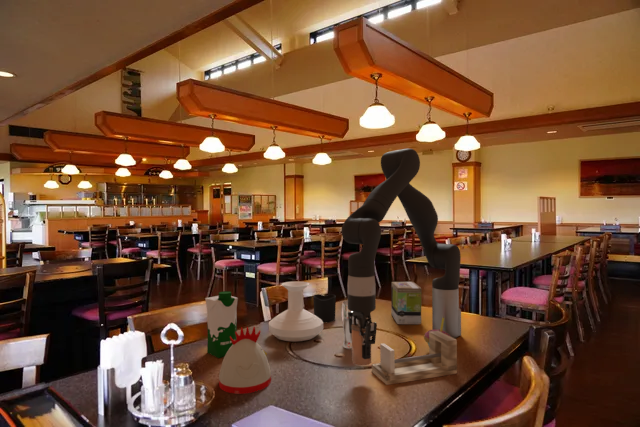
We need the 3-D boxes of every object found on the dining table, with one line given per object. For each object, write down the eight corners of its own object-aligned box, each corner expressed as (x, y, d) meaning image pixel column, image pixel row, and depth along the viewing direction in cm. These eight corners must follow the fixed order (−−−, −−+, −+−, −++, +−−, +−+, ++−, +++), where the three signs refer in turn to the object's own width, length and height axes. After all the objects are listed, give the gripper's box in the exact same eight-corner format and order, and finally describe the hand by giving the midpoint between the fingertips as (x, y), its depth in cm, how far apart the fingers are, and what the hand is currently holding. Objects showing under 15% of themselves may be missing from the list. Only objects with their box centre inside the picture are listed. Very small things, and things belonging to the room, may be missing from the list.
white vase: (290, 350, 135) (290, 291, 134) (257, 336, 150) (257, 283, 149) (334, 337, 148) (334, 284, 147) (300, 325, 163) (299, 277, 162)
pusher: (437, 360, 121) (437, 336, 121) (449, 367, 115) (449, 342, 115) (380, 368, 115) (380, 343, 115) (390, 376, 109) (390, 350, 109)
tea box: (422, 324, 162) (422, 287, 162) (396, 324, 162) (396, 287, 162) (414, 314, 177) (413, 280, 177) (390, 314, 177) (390, 281, 177)
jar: (366, 356, 113) (366, 321, 113) (375, 363, 108) (374, 327, 108) (348, 359, 112) (348, 323, 112) (356, 366, 107) (356, 329, 106)
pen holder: (325, 315, 177) (325, 292, 177) (340, 320, 170) (340, 296, 170) (308, 319, 170) (308, 296, 170) (324, 324, 163) (324, 299, 163)
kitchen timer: (275, 389, 105) (274, 332, 105) (220, 397, 101) (219, 337, 101) (266, 369, 119) (266, 318, 118) (218, 375, 115) (217, 322, 115)
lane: (438, 362, 123) (437, 330, 123) (456, 373, 114) (456, 339, 114) (371, 371, 116) (371, 338, 116) (386, 384, 107) (386, 349, 107)
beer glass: (361, 350, 133) (360, 305, 133) (340, 349, 135) (339, 304, 134) (363, 343, 140) (363, 300, 140) (343, 342, 141) (342, 299, 141)
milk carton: (217, 359, 126) (216, 295, 126) (202, 352, 133) (202, 291, 132) (241, 352, 132) (240, 291, 132) (226, 346, 139) (225, 287, 139)
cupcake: (451, 348, 134) (451, 312, 134) (451, 357, 126) (451, 319, 126) (425, 346, 137) (424, 310, 137) (422, 354, 129) (422, 317, 129)
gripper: (386, 296, 104) (386, 362, 104) (363, 286, 118) (363, 344, 118) (359, 298, 102) (359, 366, 102) (338, 288, 115) (339, 347, 116)
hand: (361, 354), depth 110 cm, fingers closed on jar, 5 cm apart
